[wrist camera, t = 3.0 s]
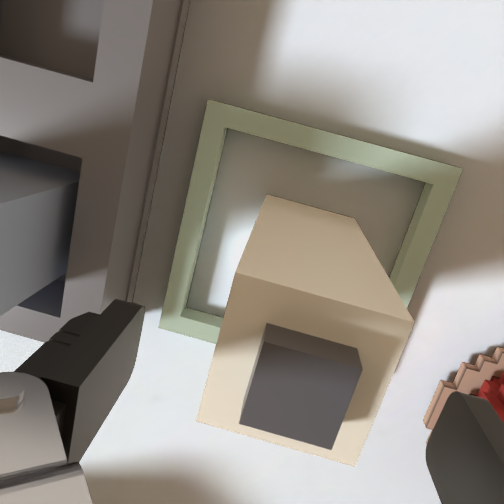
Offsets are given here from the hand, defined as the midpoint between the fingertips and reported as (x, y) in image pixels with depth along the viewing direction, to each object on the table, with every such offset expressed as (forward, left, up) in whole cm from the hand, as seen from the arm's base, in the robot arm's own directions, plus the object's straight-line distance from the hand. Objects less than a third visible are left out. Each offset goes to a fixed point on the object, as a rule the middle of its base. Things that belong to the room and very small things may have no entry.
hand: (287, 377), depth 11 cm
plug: (0, 0, -12) cm, 12 cm away
